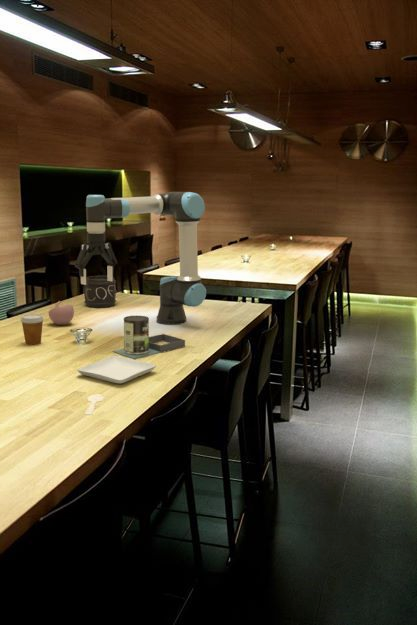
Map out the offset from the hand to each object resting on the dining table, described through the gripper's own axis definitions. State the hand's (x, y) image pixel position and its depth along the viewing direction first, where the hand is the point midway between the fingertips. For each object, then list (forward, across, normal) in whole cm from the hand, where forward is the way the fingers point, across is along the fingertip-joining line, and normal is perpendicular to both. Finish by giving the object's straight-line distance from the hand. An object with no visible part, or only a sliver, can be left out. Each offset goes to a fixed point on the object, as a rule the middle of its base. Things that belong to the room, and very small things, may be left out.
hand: (97, 282), depth 256 cm
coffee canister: (+27, -49, -66) cm, 86 cm away
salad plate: (+27, +20, +40) cm, 52 cm away
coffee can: (+26, -4, +22) cm, 35 cm away
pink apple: (+27, -7, -40) cm, 49 cm away
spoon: (+27, +44, +59) cm, 78 cm away
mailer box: (+27, -11, +22) cm, 36 cm away
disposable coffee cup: (+27, +21, -18) cm, 39 cm away
